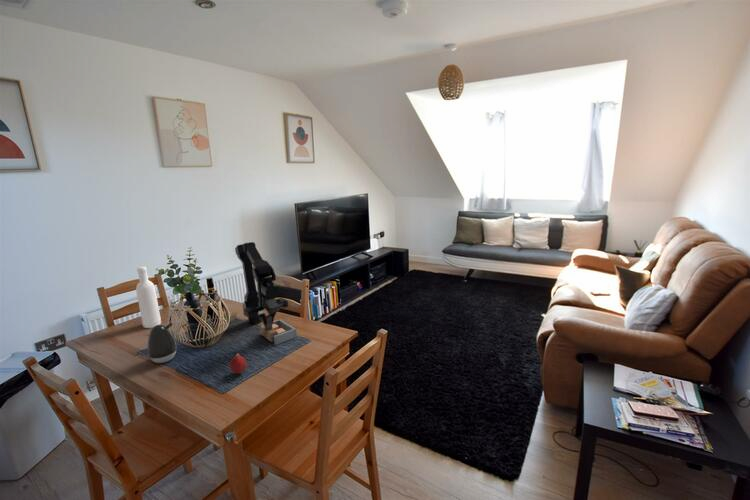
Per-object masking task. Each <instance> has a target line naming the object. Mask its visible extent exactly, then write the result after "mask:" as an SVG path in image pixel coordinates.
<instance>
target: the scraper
mask: <svg viewBox="0 0 750 500" xmlns="http://www.w3.org/2000/svg"><path fill="white" fill-rule="evenodd" d="M265 319H266V327H265V326H264V324H262V326H261V325H259V326H260V327H259V333H260V335H261V336H262V337H263V338H265V339H267V341H270V342H271V343H274V336H275V335H278V332H277V331H276V330H274V329H273V328H272V316H271V315H269V314H267V315H265Z"/></svg>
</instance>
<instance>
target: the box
mask: <svg viewBox="0 0 750 500" xmlns="http://www.w3.org/2000/svg"><path fill="white" fill-rule="evenodd" d="M273 324H276V325H278V326H279V329H280V328H282V329H284V330H285V331H286V332H283V333H281V334H278V335H275V336H274V342H273V343H274V346H277V345H280V344H282V343H285V342H287V341H291V340H293V339H296V338H297V337H298V336H297V335H298V334H297V333H298V332H297V328H295V327H294V326H292V325H290V324H289V323H287V322H285V320H283V319H280V318H278V319H277V320H273ZM262 325H263V324H262ZM262 325H259V326H258V327H259V328H260V326H262Z"/></svg>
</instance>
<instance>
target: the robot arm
mask: <svg viewBox="0 0 750 500" xmlns="http://www.w3.org/2000/svg"><path fill="white" fill-rule="evenodd" d="M256 247H257V246H256V243H255V242H252V241H251V242H244V243H242V244H237V246H236V247H235V248H234V249H235V250H234V251H235V254H236V256H237V259H239V261H240V262H241V264H242V270H243V277H244V282H245V288H246V289H245V290H246V293H245V295H244V297H243V300H244V301H243V304H242V311H243V315H244V316H245V317H247V319H246V320H245V322H246V323H247V324H248V325H250V326H252V325H256V324H259V323H262V325H264V326H265V327H266V319H265V316H266V313H264V311H266V312H267V313H268V315H271V316H272V324H273V321H275V320H274V319H275V317H276V314H277V313H278V312H279V311H280V310H281V308H282V309H284V308H287V307H290V305H289V300H287V299H285V298H284V297H280V298H277V297H278V296H279V293H280V290H279V288H278V286H276V285H275V284H274V281H276V280H277V279H276V277H277V275H276V273H275V269H274V268H273V266H272V265H271V264H270V263H269V262H268V261H267V260H264V259H263V257H262V256H261V254H260V252H259V251H258V249H257V248H256Z"/></svg>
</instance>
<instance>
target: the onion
mask: <svg viewBox="0 0 750 500" xmlns="http://www.w3.org/2000/svg"><path fill="white" fill-rule="evenodd" d="M247 365H248V361H247V360H246V359H245V357H243V356H242V355H240V354H239V353H236V355H235V356H234V357H233V358H232V359H231V361H230V362H229V368H230V371H231V372H232V373H234V374H241V373H243V372H244V371H245V370H246V369H247Z"/></svg>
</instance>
